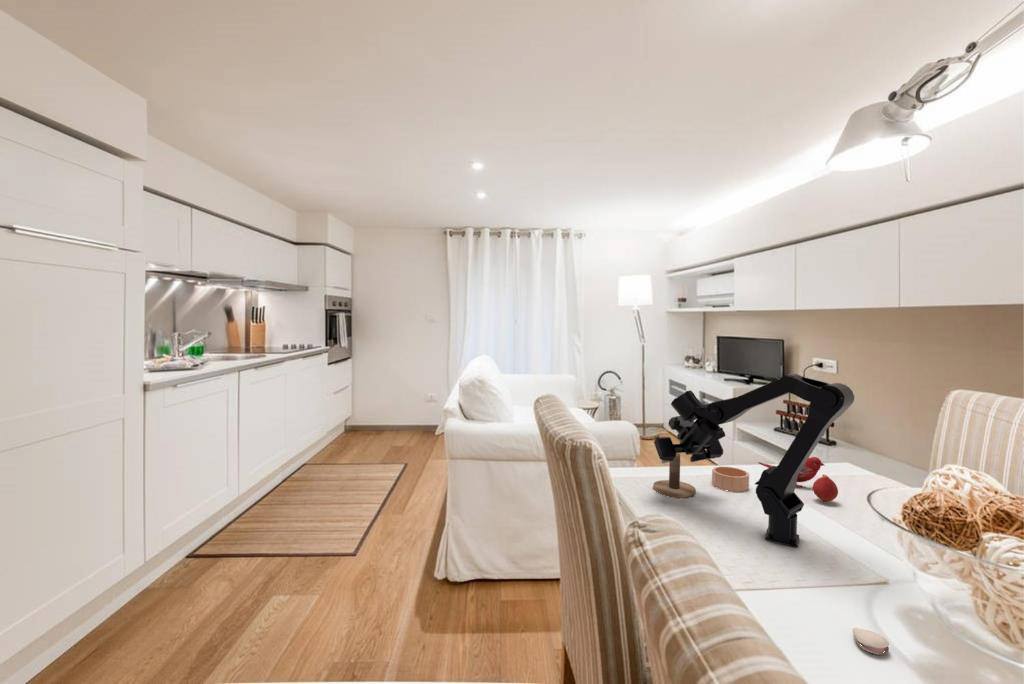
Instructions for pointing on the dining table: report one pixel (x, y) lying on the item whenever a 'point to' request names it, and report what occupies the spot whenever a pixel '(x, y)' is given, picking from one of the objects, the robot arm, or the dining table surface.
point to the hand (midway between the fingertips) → (676, 461)
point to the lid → (674, 482)
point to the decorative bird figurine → (806, 469)
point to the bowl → (730, 479)
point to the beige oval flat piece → (871, 641)
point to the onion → (825, 489)
